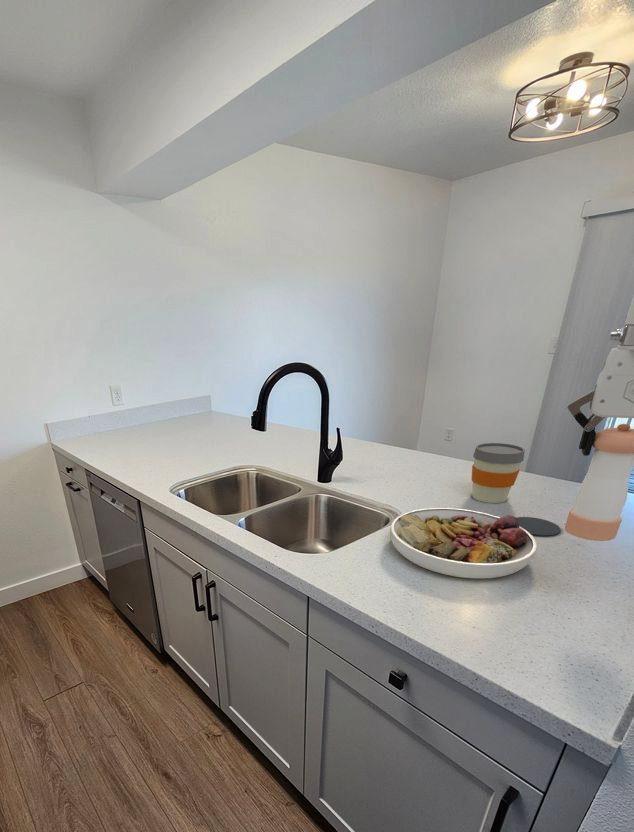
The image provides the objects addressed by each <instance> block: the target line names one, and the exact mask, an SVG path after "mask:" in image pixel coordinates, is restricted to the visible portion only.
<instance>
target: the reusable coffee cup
mask: <svg viewBox="0 0 634 832" xmlns="http://www.w3.org/2000/svg"><path fill="white" fill-rule="evenodd" d="M525 451H526V450H525V448H523V447H522V446H519V445H516V444H510V443H502V442H485V443H479V444H477V445H476V446H475V449H474V452H473V458H474V459H473V464H472V465H471V482H472V492H471V497H472V498H473V499H474V500H476V501H479V502H483V503H489V504H499V503H504V502H506V501H507V498H508V496H509V493H510V491H511V489H512V487H513V486H514V485H515V483H516V480H517V478H518V475H519V473H520V471H521V468H520V466H521V464H522V462H523V461H524V459H525Z"/></svg>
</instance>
